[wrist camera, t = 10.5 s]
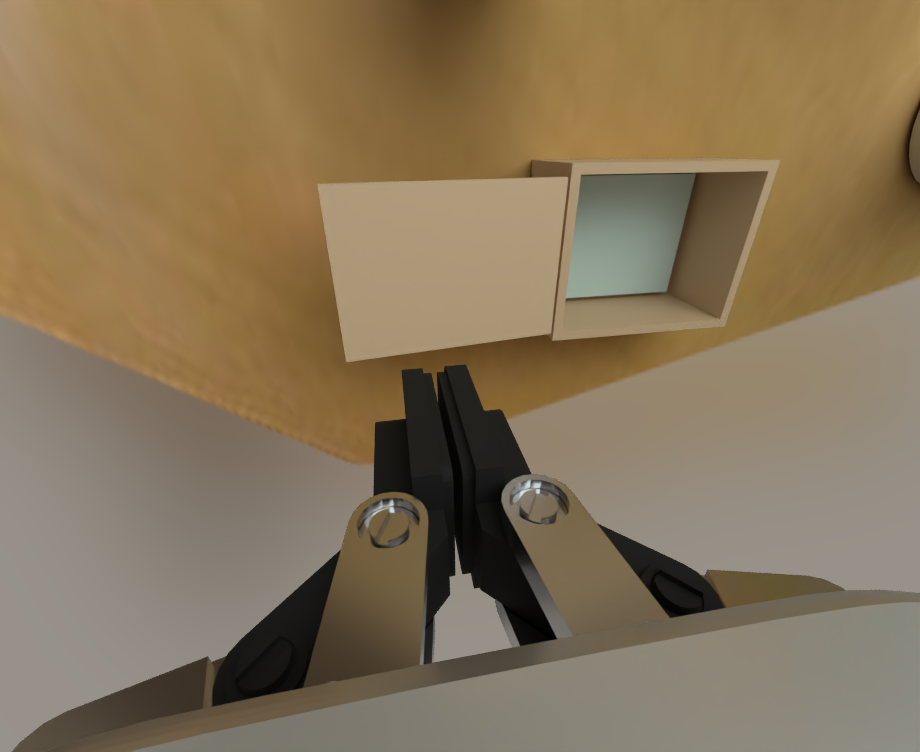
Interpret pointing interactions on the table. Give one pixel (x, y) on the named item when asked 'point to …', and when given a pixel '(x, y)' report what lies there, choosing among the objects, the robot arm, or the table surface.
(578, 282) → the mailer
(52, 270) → the table surface
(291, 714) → the robot arm
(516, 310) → the lid
